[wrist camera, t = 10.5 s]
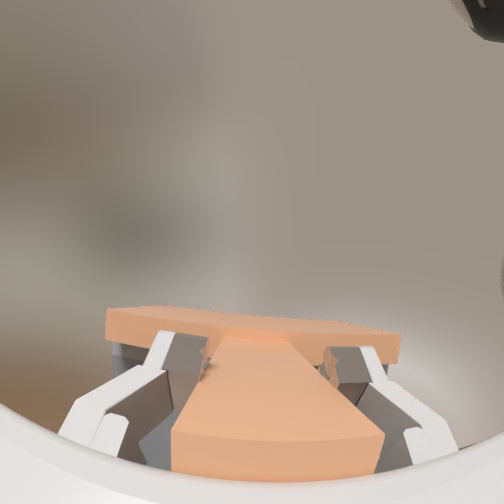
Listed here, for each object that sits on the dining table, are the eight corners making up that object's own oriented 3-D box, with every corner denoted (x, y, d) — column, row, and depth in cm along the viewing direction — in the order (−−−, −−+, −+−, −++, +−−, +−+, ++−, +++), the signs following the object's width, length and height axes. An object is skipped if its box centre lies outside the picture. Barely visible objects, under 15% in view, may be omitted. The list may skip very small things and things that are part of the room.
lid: (337, 338, 26) (338, 320, 27) (545, 413, 4) (558, 357, 4) (161, 323, 26) (163, 305, 26) (-52, 374, 3) (-57, 310, 4)
